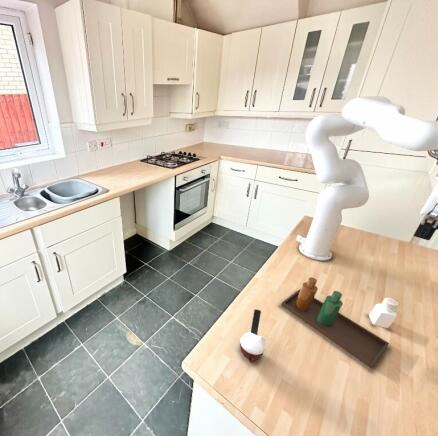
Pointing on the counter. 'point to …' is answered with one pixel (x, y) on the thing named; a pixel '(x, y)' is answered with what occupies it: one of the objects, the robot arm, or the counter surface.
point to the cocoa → (253, 340)
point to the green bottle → (330, 309)
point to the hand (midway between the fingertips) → (425, 232)
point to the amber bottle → (306, 294)
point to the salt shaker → (384, 313)
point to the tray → (341, 332)
